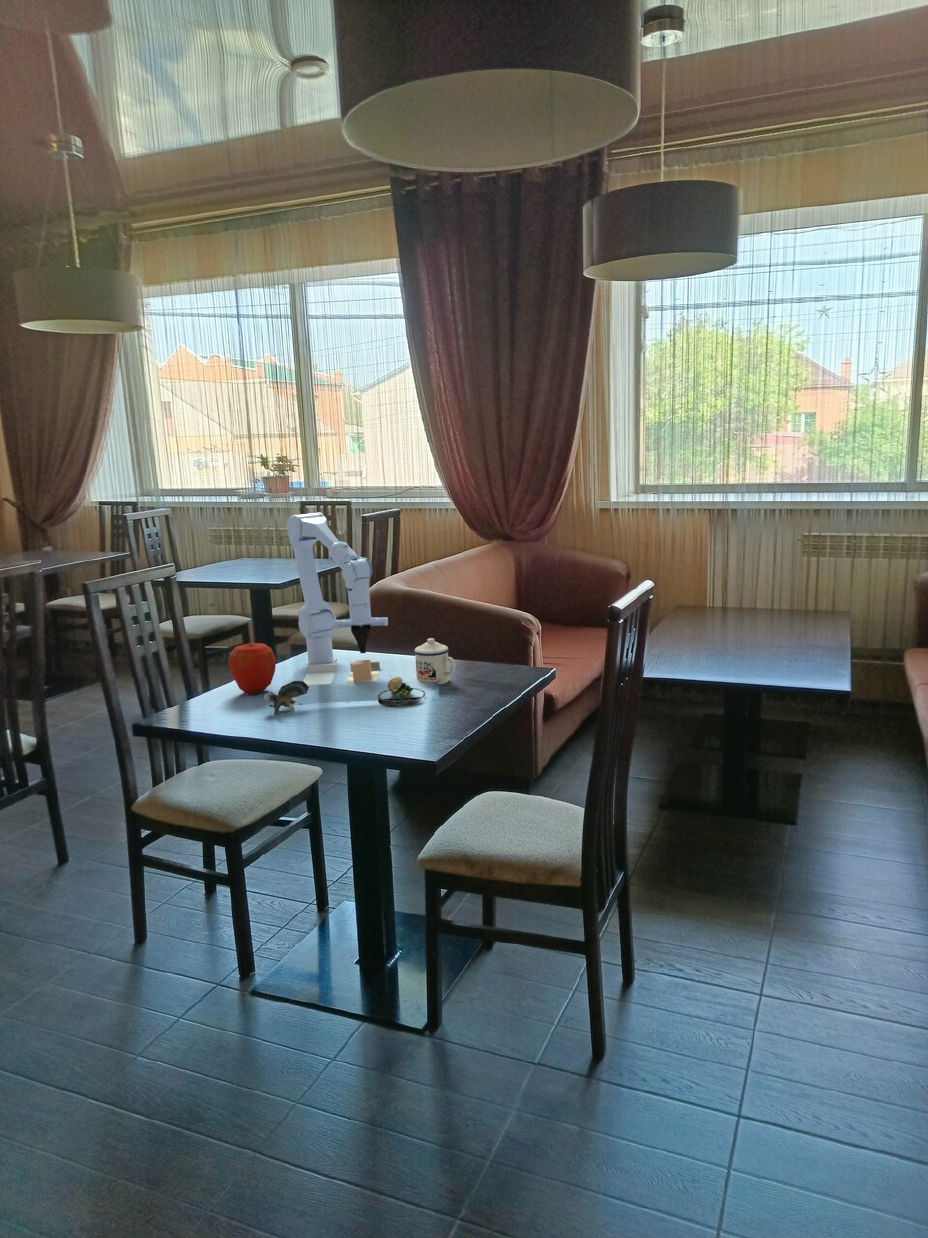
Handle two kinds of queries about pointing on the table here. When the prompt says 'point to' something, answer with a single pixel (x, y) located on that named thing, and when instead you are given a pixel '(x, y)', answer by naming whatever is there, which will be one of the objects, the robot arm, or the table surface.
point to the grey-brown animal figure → (286, 695)
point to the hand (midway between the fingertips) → (363, 652)
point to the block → (361, 670)
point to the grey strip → (320, 674)
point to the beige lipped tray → (374, 671)
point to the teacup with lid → (433, 662)
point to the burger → (398, 694)
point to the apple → (252, 667)
